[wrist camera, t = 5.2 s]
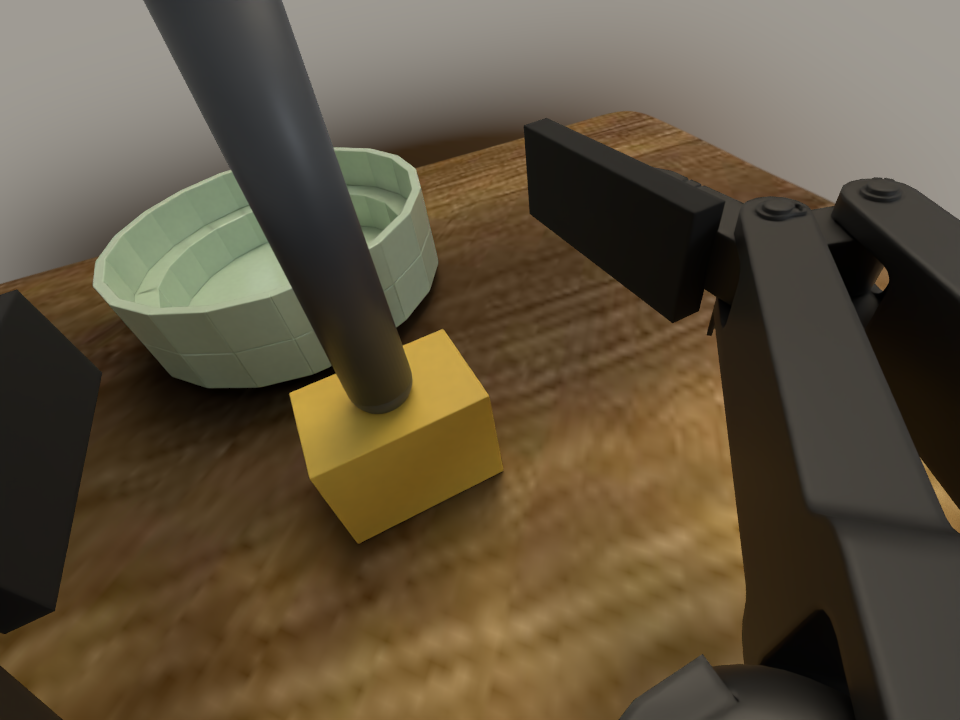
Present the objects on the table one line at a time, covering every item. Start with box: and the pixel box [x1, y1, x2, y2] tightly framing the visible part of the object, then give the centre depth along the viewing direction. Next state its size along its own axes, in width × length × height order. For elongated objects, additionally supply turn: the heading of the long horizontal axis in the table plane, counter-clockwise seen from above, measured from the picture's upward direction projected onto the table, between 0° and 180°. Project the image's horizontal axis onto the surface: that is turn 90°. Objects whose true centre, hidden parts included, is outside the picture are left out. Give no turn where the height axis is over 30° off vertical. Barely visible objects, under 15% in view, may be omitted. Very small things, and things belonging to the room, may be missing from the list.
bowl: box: [93, 148, 438, 388], centre depth 27 cm, size 17×17×6 cm
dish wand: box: [144, 0, 503, 544], centre depth 13 cm, size 6×4×17 cm, turn 115°
